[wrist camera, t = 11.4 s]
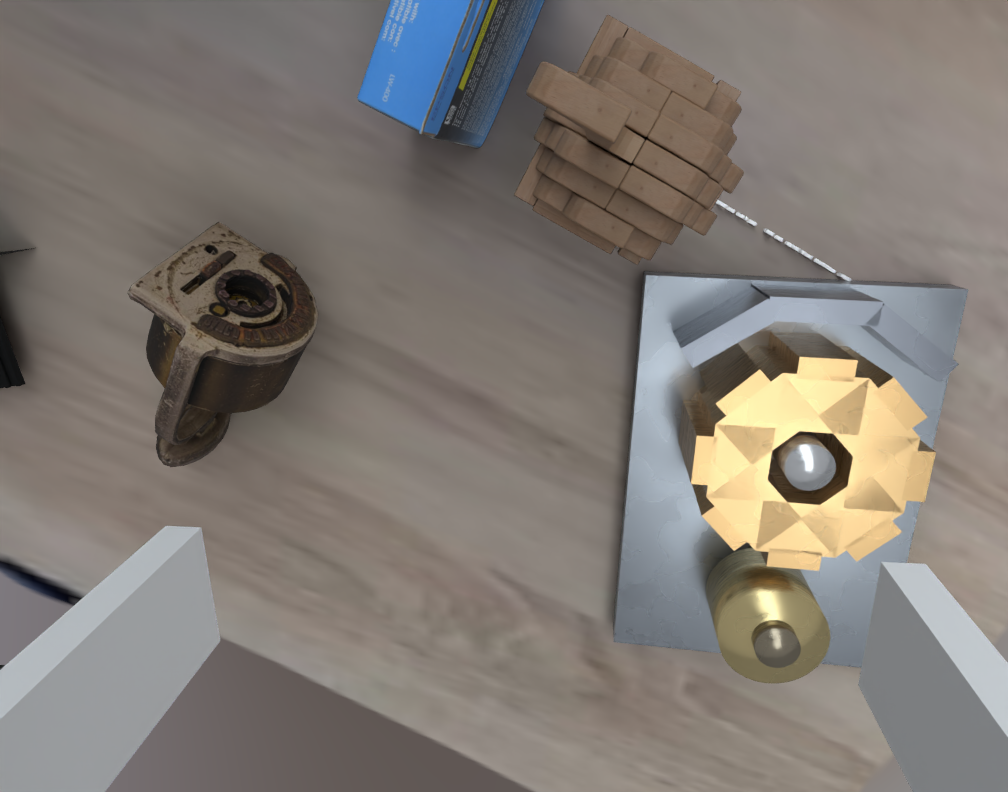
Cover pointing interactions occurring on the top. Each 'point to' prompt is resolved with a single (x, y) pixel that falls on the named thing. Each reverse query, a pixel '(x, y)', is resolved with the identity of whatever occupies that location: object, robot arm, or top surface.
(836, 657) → the carrier
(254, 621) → the top surface
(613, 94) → the ostrich figurine
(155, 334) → the mechanical counter
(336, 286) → the top surface
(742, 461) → the gear
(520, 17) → the label tape cartridge
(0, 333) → the extrusion
